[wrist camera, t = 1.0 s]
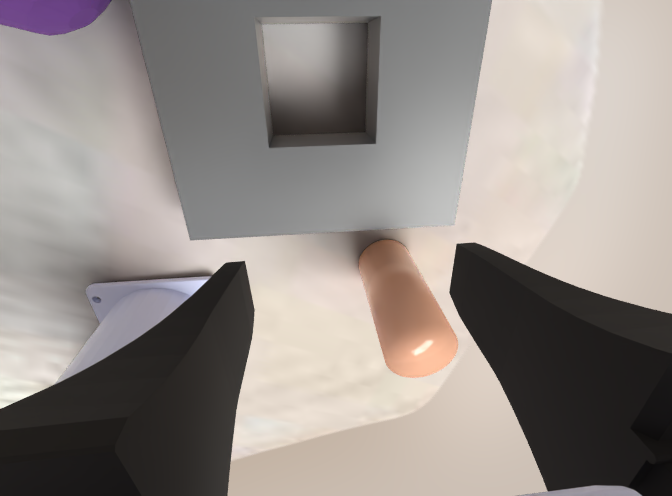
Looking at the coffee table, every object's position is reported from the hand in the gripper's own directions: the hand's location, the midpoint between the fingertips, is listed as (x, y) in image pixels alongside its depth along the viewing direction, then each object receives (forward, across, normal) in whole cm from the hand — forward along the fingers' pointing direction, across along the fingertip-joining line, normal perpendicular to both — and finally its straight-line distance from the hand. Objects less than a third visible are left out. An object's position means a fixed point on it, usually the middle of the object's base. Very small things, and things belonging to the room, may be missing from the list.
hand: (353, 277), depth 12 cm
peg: (+10, -3, +6) cm, 12 cm away
